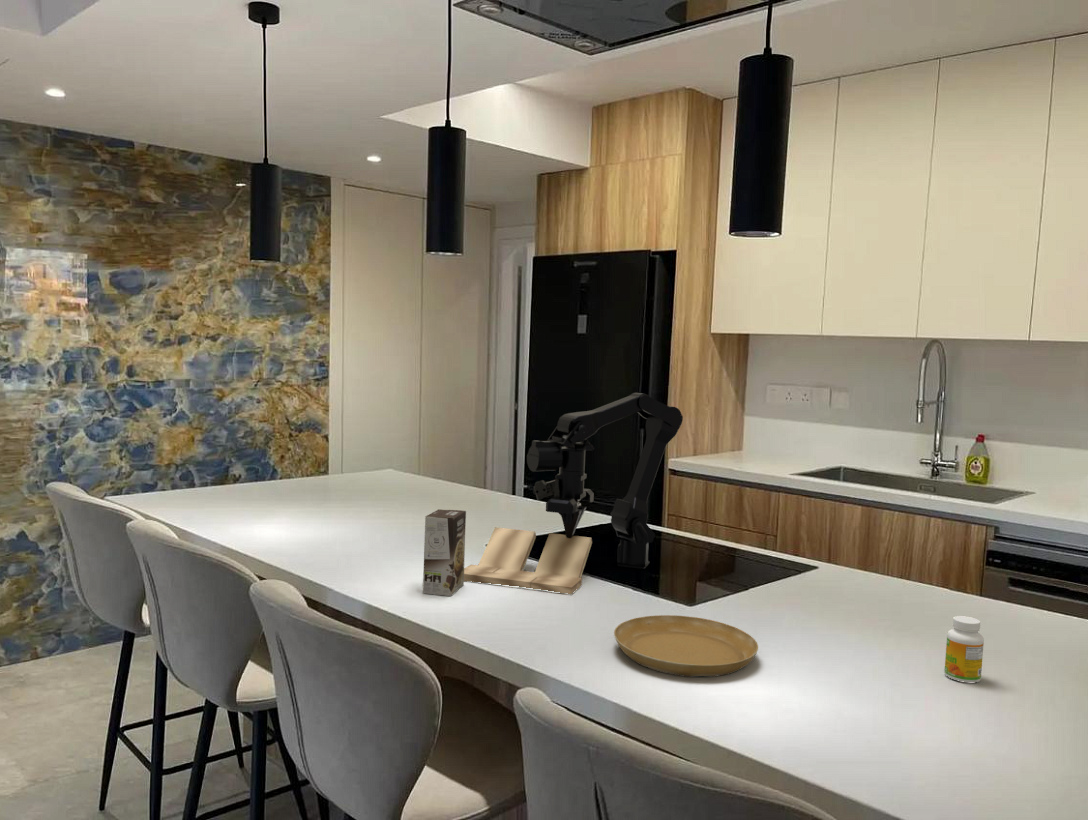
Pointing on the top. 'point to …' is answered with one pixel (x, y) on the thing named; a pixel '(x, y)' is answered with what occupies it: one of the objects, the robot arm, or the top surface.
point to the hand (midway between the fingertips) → (569, 537)
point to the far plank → (508, 549)
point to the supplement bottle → (964, 650)
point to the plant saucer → (685, 645)
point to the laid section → (522, 579)
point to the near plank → (564, 555)
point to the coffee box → (444, 552)
